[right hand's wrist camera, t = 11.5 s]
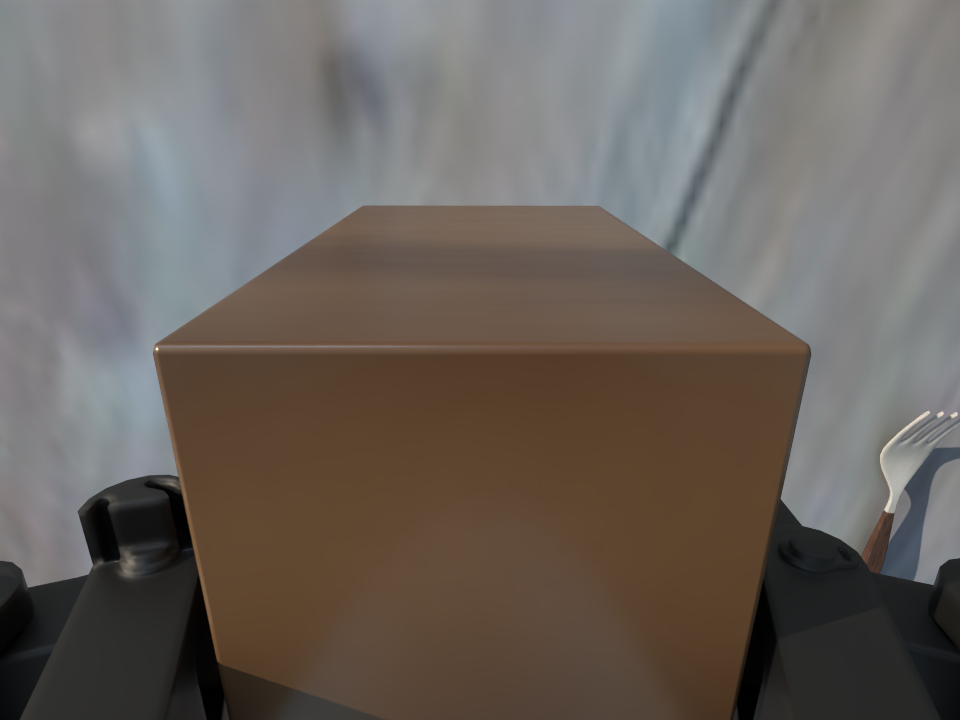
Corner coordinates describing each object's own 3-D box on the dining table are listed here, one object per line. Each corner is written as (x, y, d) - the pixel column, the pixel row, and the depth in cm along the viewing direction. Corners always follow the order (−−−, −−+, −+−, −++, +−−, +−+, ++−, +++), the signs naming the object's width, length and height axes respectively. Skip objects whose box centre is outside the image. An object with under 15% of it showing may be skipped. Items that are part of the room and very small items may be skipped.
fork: (819, 630, 37) (837, 656, 35) (898, 394, 32) (925, 411, 30) (860, 631, 37) (881, 658, 35) (947, 397, 32) (976, 414, 30)
